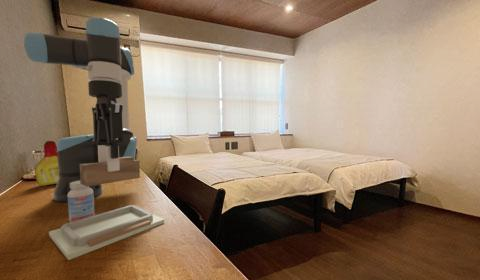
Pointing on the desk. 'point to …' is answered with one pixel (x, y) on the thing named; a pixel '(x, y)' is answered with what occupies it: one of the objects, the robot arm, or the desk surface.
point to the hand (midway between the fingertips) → (109, 169)
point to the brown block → (99, 175)
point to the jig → (102, 230)
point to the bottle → (48, 165)
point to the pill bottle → (80, 201)
